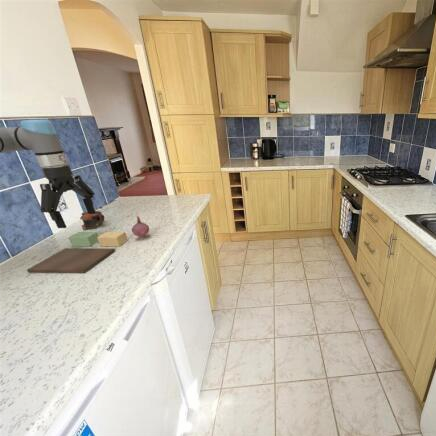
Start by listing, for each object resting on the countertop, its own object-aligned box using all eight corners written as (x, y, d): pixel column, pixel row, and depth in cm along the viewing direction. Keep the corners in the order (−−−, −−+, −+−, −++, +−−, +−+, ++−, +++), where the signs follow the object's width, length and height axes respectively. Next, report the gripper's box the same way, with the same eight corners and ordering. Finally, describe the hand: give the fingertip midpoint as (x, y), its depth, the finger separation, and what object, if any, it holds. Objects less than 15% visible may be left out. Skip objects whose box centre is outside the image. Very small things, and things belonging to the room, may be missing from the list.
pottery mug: (75, 231, 111) (73, 214, 112) (96, 231, 120) (94, 215, 121) (96, 226, 108) (94, 208, 109) (116, 226, 118) (113, 209, 118)
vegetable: (153, 236, 103) (147, 215, 99) (138, 242, 98) (131, 220, 94) (147, 233, 106) (141, 211, 102) (132, 238, 102) (125, 216, 98)
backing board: (28, 272, 81) (26, 269, 80) (66, 250, 94) (65, 248, 93) (85, 273, 80) (83, 270, 79) (115, 251, 93) (114, 248, 92)
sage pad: (71, 246, 97) (67, 237, 95) (82, 240, 102) (78, 231, 100) (90, 246, 97) (87, 237, 95) (100, 240, 101) (97, 231, 100)
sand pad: (100, 246, 96) (96, 237, 95) (109, 240, 101) (106, 231, 99) (119, 246, 96) (116, 237, 94) (127, 240, 100) (125, 231, 99)
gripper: (28, 173, 75) (57, 234, 83) (93, 159, 98) (110, 208, 106) (6, 174, 75) (37, 234, 84) (75, 160, 98) (94, 208, 107)
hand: (78, 220), depth 95 cm, fingers open, 13 cm apart
